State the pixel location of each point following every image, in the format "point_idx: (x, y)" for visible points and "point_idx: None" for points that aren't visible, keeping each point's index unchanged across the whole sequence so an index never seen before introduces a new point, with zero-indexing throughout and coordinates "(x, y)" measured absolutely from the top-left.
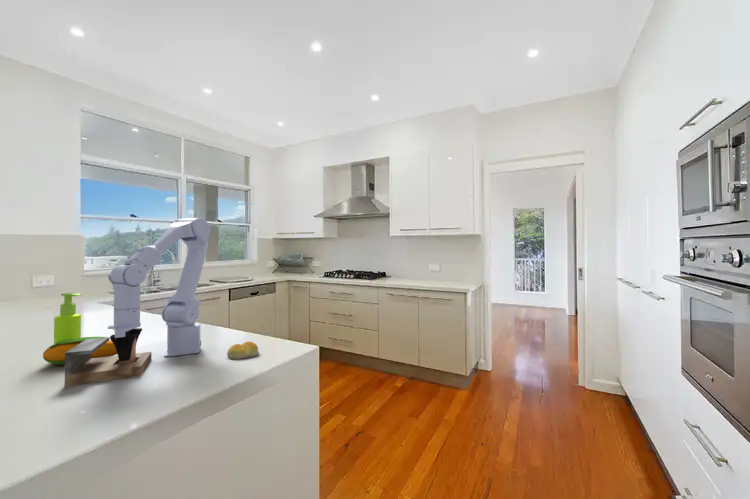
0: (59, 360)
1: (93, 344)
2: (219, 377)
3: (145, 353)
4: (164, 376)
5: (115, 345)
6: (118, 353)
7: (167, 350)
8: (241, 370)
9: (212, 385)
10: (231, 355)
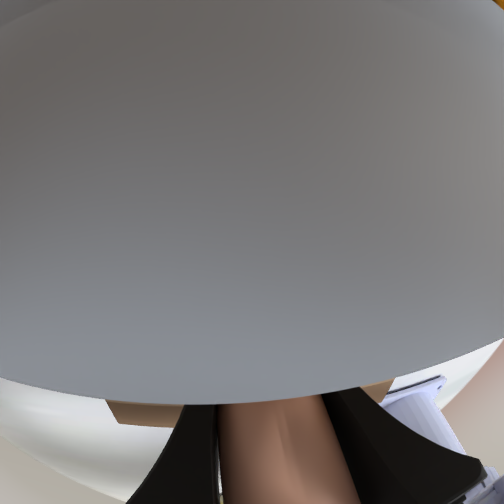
0: (496, 3)
1: (322, 295)
2: (89, 474)
3: (369, 394)
4: (107, 429)
5: (146, 481)
6: (181, 416)
7: (404, 406)
8: (127, 492)
9: (49, 459)
10: (220, 502)
